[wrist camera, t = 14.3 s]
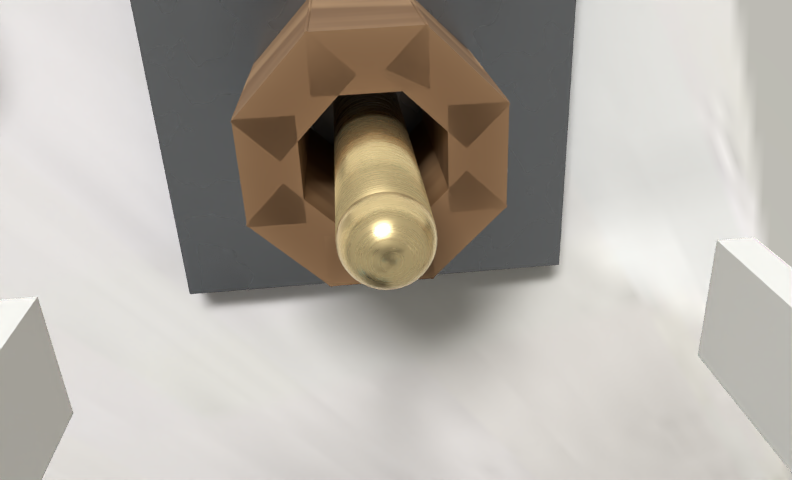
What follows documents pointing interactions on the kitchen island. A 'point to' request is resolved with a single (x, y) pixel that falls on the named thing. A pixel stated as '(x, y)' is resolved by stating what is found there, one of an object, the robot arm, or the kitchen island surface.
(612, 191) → the kitchen island surface
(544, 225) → the stand
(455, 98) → the bead
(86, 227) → the kitchen island surface
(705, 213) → the kitchen island surface
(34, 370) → the robot arm
